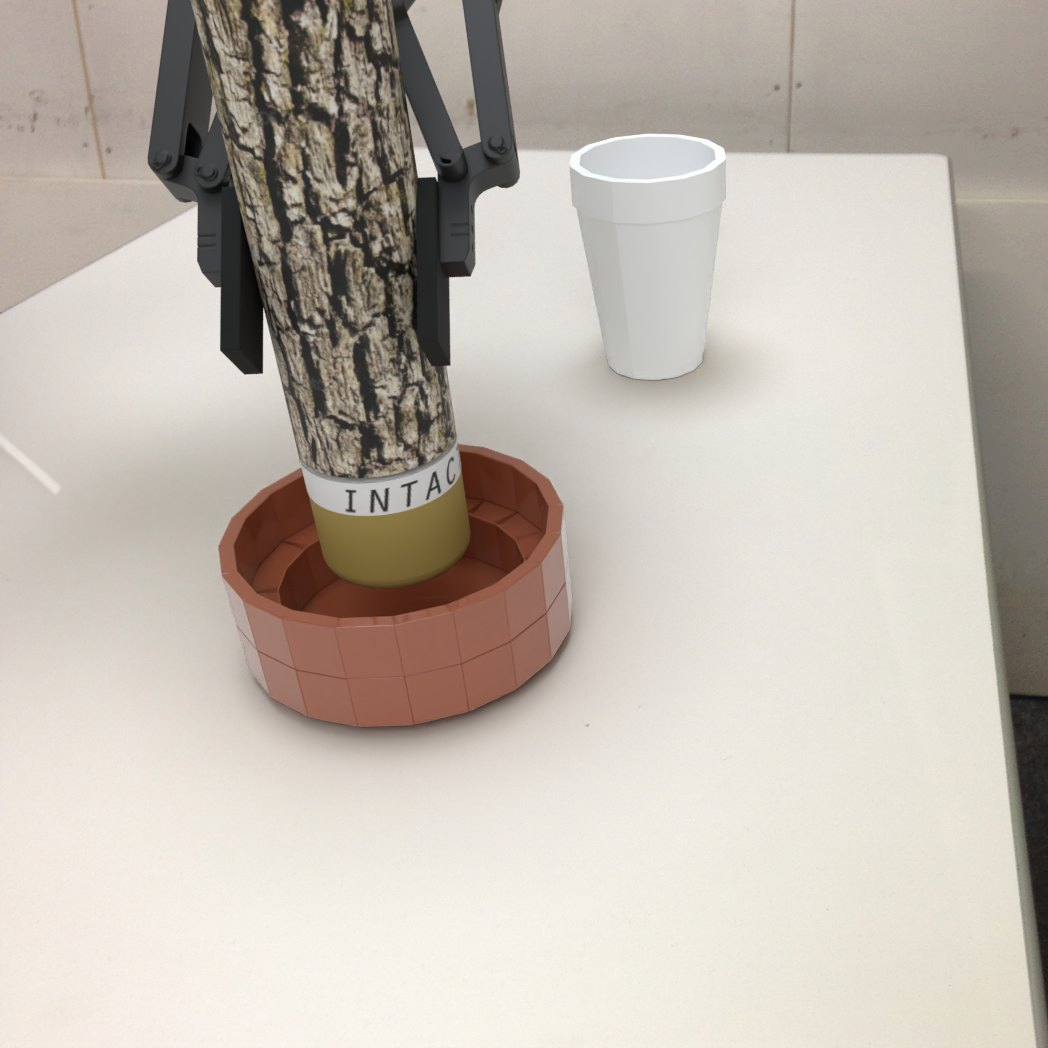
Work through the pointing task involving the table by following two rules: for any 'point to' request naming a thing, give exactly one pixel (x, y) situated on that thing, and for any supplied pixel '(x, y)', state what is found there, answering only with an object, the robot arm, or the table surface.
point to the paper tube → (341, 274)
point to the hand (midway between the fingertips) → (338, 357)
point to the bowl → (402, 604)
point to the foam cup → (650, 246)
